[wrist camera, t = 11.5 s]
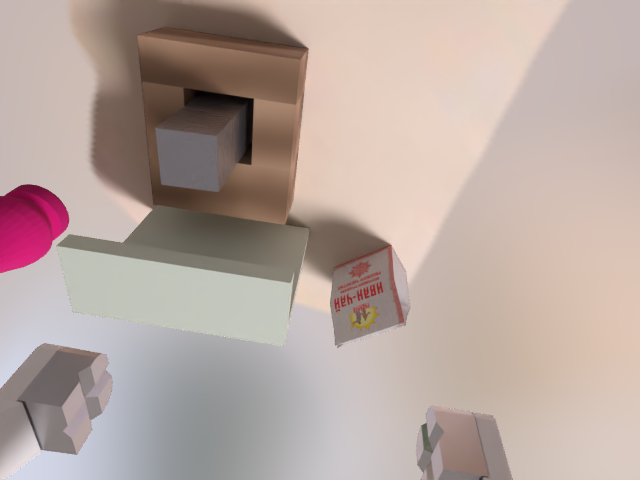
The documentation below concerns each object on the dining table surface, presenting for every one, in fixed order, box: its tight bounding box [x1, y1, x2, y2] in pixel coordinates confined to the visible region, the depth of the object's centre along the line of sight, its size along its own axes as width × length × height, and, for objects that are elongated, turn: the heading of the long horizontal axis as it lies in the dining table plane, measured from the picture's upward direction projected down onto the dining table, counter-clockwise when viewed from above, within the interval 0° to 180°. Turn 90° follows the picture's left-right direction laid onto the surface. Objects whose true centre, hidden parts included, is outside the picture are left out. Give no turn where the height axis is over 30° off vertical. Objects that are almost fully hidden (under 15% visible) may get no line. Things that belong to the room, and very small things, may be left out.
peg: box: [155, 91, 254, 192], centre depth 34 cm, size 4×4×12 cm
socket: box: [137, 27, 308, 225], centre depth 37 cm, size 14×12×5 cm
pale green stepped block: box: [56, 205, 310, 346], centre depth 37 cm, size 6×16×16 cm, turn 83°
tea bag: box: [330, 245, 410, 348], centre depth 43 cm, size 4×7×10 cm, turn 120°
